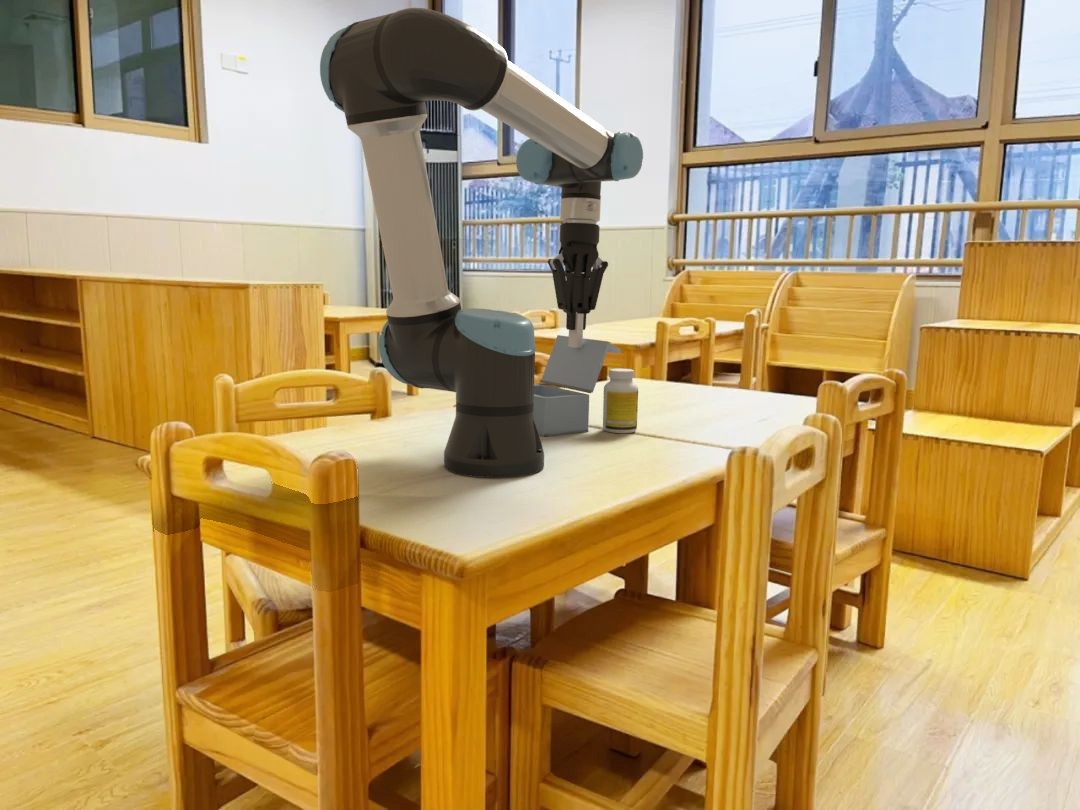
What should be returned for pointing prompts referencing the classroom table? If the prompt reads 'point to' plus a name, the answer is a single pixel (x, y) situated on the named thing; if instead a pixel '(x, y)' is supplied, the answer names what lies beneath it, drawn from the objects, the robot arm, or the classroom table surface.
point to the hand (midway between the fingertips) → (575, 346)
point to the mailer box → (560, 411)
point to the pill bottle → (620, 402)
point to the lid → (576, 364)
